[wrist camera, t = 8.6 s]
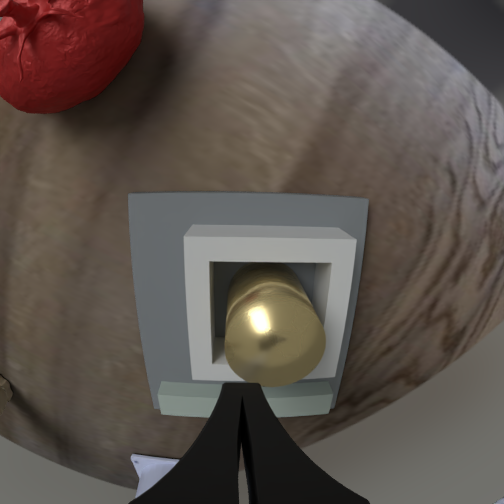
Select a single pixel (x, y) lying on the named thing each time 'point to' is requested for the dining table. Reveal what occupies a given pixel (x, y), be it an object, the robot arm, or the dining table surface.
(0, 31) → the red tomato
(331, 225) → the jig
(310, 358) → the brass cylinder
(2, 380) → the handle
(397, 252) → the dining table surface
